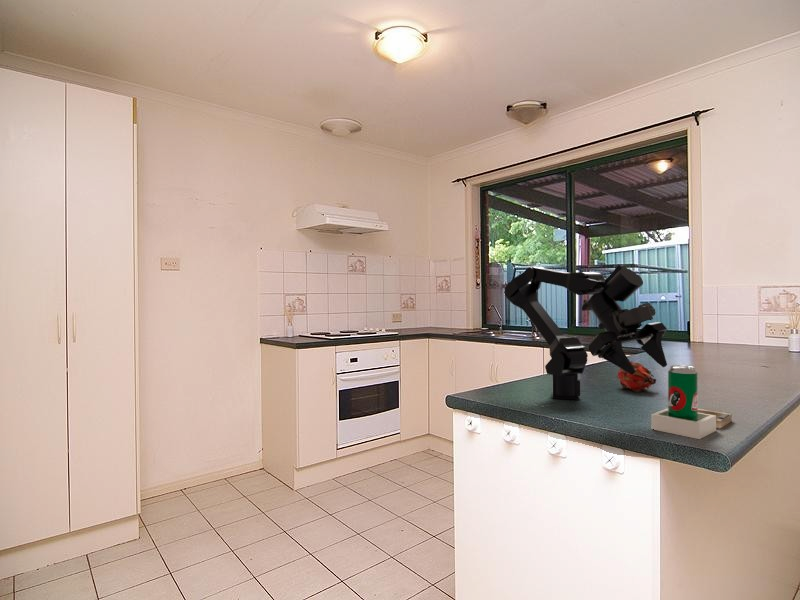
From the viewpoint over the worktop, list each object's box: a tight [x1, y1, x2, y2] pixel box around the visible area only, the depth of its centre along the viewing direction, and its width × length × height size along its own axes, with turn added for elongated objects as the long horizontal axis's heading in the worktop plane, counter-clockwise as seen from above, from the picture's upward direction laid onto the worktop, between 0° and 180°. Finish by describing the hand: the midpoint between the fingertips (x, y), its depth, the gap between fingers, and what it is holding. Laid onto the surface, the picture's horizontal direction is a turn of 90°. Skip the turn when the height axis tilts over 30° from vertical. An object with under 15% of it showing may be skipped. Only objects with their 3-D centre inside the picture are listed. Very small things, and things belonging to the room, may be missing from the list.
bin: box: [650, 407, 717, 440], centre depth 92 cm, size 9×9×3 cm
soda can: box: [667, 364, 699, 422], centre depth 92 cm, size 5×5×12 cm
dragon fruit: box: [616, 361, 657, 393], centre depth 131 cm, size 8×8×12 cm
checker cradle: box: [698, 408, 733, 429], centre depth 99 cm, size 8×8×2 cm
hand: (650, 369), depth 101 cm, fingers open, 9 cm apart
